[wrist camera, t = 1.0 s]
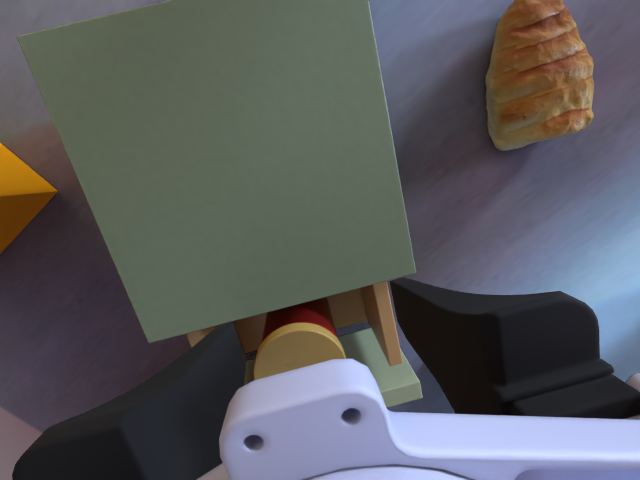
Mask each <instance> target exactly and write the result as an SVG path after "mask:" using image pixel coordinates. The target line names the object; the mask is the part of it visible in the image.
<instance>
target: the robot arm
mask: <svg viewBox="0 0 640 480" xmlns="http://www.w3.org/2000/svg"><path fill="white" fill-rule="evenodd" d="M390 285H391V290H392V296H393V301H394V306H395V311H396V316H397V321H398V323H399V325H400V327H401V329H402V331H403V333H404V335H405V337H406V339H407V340H408V342H409V343H410V344H411V346H412V347H413V348H414V350H415V351H416V353H417V354H418V355H419V357H420V358H421V359H422V361H423V362H424V364H425V365H426V366H427V368H428V369H429V370H430V372H431V373H432V375H433V376H434V377H435V379H436V380H437V382H438V383H439V385H440V387H441V388H442V390H443V392H444V394H445V395H446V397H447V399H448V401H449V402H450V404H451V406H452V408H453V410H454V411H455V413H456V414H445V413H414V412H391V411H389V410H387V408H386V406H385V403H384V400H383V398H382V395H381V393H380V390H379V388H378V385H377V382H376V380H375V378H374V377H373V375H372V373H371V372H370V370H369V368H368V367H367V366H365V365H363V364H361V363H359V362H357V361H355V360H353V359H332V360H329V361H325V362H321V363H317V364H314V365H310V366H306V367H302V368H299V369H295V370H291V371H287V372H284V373H280V374H276V375H272V376H269V377H265V378H261V379H257V380H254V381H252V382H250V383H248V384H247V385H245V386H244V382H245V373H246V360H245V357H244V354H243V351H242V348H241V345H240V342H239V339H238V336H237V334H236V331H235V328H234V325H233V322H232V323H228V324H224V325H221V326H218V327H216V328H215V329H214V330H212V331H211V332H210V333H208V334H207V335H206V336H205V337H204V338H203V339H201V340H200V341H199V342H198V343H197V344H195V345H194V346H193V347H192V348H191V349H189V350H188V351H187V352H186V353H184V354H183V355H182V356H181V357H179V358H178V359H177V360H176V361H174V362H173V363H172V364H170V365H169V366H168V367H166V368H165V369H164V370H162V371H161V372H159V373H158V374H156V375H155V376H153V377H152V378H150V379H148V380H147V381H145V382H143V383H142V384H140V385H138V386H137V387H135V388H133V389H131V390H130V391H128V392H126V393H124V394H123V395H121V396H119V397H117V398H115V399H113V400H111V401H109V402H107V403H105V404H103V405H101V406H98V407H96V408H94V409H92V410H90V411H87V412H85V413H83V414H80V415H78V416H75V417H73V418H71V419H68V420H66V421H63V422H61V423H58V424H56V425H53V426H51V427H49V428H48V429H47V430H46V431H45V432H44V433H43V434H42V435H41V436H40V437H39V438H38V439H37V440H36V441H35V442H34V443H33V444H32V445H31V446H30V447H29V448H28V450H26V452H25V453H24V454H23V455H22V456H21V457H20V459H19V460H18V461H17V463H16V464H15V467H14V471H13V474H12V477H13V480H640V372H639V373H636V374H634V375H632V376H630V377H629V378H628V380H627V381H626V383H625V382H623V381H622V380H620V379H619V378H617V377H616V376H614V375H612V374H611V373H614V369H613V367H612V366H611V365H610V364H608V363H607V362H605V361H603V360H602V359H600V350H599V326H598V320H597V317H596V315H595V313H594V312H593V310H592V309H591V308H590V307H589V306H588V305H587V304H586V303H584V302H582V301H580V300H578V299H576V298H574V297H572V296H570V295H567V294H565V293H563V292H561V291H555V292H546V293H537V294H526V295H483V294H472V293H465V292H458V291H452V290H448V289H443V288H439V287H435V286H432V285H428V284H425V283H421V282H418V281H414V280H411V279H407V278H401V279H397V280H393V281H390Z"/></svg>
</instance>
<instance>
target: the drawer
mask: <svg viewBox="0 0 640 480" xmlns="http://www.w3.org/2000/svg"><path fill="white" fill-rule="evenodd" d="M327 300H328V303H329V307H330V311H331V315H332V318H333V322H334V326H335V329H338V328H342V327H346V326H349V325H353V324H357V323H361V322H364V321H368V323H369V325H370V327H371V328H370V329H366V330H362V331H358V332H355V333H351V334H347V335H343V336H340V337H338V340H339V341H340V343H341V345H342V347H343V350H344V353H345V356H346V359H353V360H355V361H357V362H359V363H361V364H363V365H365V366H367V367H368V368H369V370H370V372H371V373H372V375H373V377H374V378H375V380H376V382H377V385H378V388H379V390H380V393H381V395H382V398H383V400H384V403H385V406H386V408H388V407H392V406H395V405H399V404H403V403H406V402H410V401H414V400H417V399H421V398H423V396H422V390H421V385H420V381H419V379H418V378H417V376H416V374H415V373H414V371H413V369H412V368H411V366H410V364H409V363H408V361H407V359H406V358H405V356H404V354H403V353H402V351H401V349H400V345H399V340H398V335H397V330H396V326H395V321H394V316H393V311H392V306H391V301H390V296H389V291H388V286H387V281H385V282H381V283H377V284H373V285H369V286H366V287H362V288H358V289H354V290H350V291H347V292H343V293H339V294H335V295H331V296H328V297H327ZM266 316H267V313H263V314H259V315H255V316H251V317H248V318H244V319H240V320H236V321H232V322H233V325H234V328H235V331H236V334H237V336H238V339H239V342H240V345H241V348H242V351H243V354H244V356H245V353H248V352H252V351H255V350H258V349H259V347H260V345H261V343H262V337H263V332H264V327H265V321H266ZM232 322H229V323H232ZM225 324H228V323H225ZM221 325H224V324H221ZM221 325H217V326H213V327H210V328H206V329H202V330H198V331H194V332H191V333H187V334H186V335H187V338H188V340H189V343H190V345H191V348H192V347H193V346H194V345H195V344H197V343H198V342H199V341H200V340H201V339H203V338H204V337H205V336H206V335H207V334H208V333H210V332H211V331H212V330H214V329H215V328H216V327H218V326H221ZM254 364H255V359H253V360H250V361H246V373H245V382H244V386H245V385H247V384H248V383H250V382H252V381H254Z"/></svg>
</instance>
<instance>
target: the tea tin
mask: <svg viewBox="0 0 640 480" xmlns="http://www.w3.org/2000/svg"><path fill="white" fill-rule="evenodd" d="M332 359H346V356H345V353H344V350H343V347H342V345H341V343H340V341H339V340H338V337H337V334H336V330H335V326H334V322H333V318H332V315H331V311H330V307H329V303H328V300H327V297H324V298H320V299H316V300H312V301H309V302H305V303H301V304H297V305H293V306H290V307H286V308H282V309H278V310H274V311H270V312H267V316H266V321H265V327H264V332H263V337H262V343H261V345H260V347H259V349H258V352H257V354H256V359H255V364H254V380H257V379H261V378H265V377H269V376H272V375H276V374H280V373H284V372H287V371H291V370H295V369H299V368H302V367H306V366H310V365H314V364H317V363H321V362H325V361H329V360H332Z"/></svg>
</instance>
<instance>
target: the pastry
mask: <svg viewBox="0 0 640 480" xmlns="http://www.w3.org/2000/svg"><path fill="white" fill-rule="evenodd" d="M494 38H495V40H494V46H493V48H492V52H491V61H490V67H489V69H488V71H487V74H486V78H485V85H486V86H487V89H486V103H487V104H486V110H487V111H488V132H489V135H490V136H491V138H492V141H493V143H494V145H495V147H496V148H497V149H499V150H501V151H507V150H512V149H517V148H522V147H525V146H526V145H528V144H532V143H535V142H538V141H542V140H550V139H554V138H557V137H561V136H567V135H570V134H573V133H576V132H578V131H579V130H583V129H585V128H586V127H588V126H589V124H590V123H591V121H592V119H593V117H594V114H593V112H592V111H591V105H592V99H593V90H594V82H593V79H592V72H593V68H594V64H593V59H592V57H591V56H589V54H588V52H587V50H586V47H585V44H584V43H583V42H582V41H581V39H580V36H579V32H578V29H577V27H576V23H575V21H574V20H573V18H572V17H571V14H570V11H569V10H568V9H567V8H566V7H565V6H564V5H563V3H562V0H515V1H514V2H513V3H512V4H511V6H510V7H509V8H508V10H507V11H506V12H505V14H504V15H503V16H502V18H501V19H500V21H499V22H498V24H497V28H496V34H495V37H494Z"/></svg>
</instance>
